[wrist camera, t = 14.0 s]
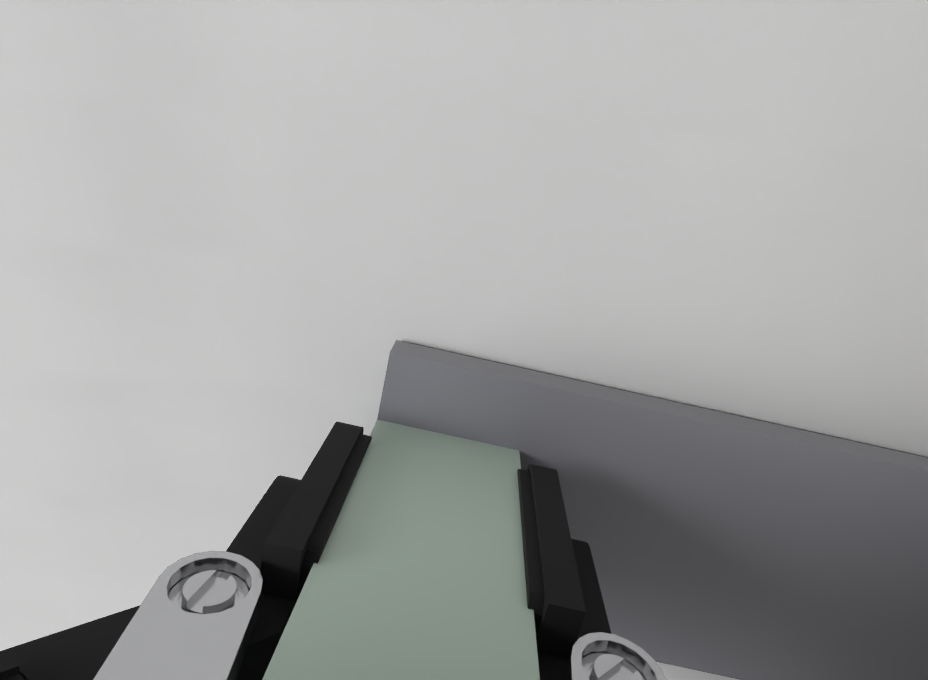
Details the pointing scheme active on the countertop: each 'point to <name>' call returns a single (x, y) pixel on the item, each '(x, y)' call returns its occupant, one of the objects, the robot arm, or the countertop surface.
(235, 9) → the countertop surface
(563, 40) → the countertop surface
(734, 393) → the countertop surface
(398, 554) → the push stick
